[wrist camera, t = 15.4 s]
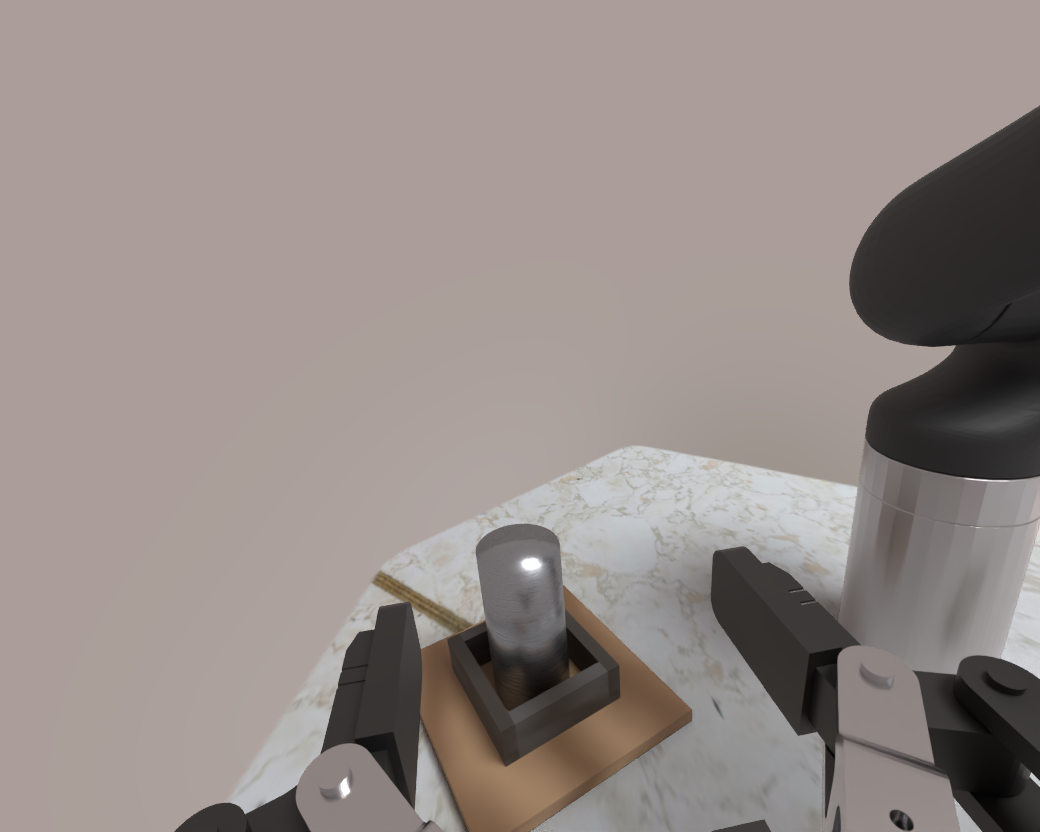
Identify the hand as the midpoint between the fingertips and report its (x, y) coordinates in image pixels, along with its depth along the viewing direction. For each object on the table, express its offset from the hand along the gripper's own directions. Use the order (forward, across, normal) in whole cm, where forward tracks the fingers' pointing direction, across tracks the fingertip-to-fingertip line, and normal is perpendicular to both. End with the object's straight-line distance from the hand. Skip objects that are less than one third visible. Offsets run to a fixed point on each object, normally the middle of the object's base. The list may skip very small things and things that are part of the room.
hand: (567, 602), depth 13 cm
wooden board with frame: (+18, 0, +24) cm, 30 cm away
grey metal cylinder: (+18, 0, +23) cm, 29 cm away
